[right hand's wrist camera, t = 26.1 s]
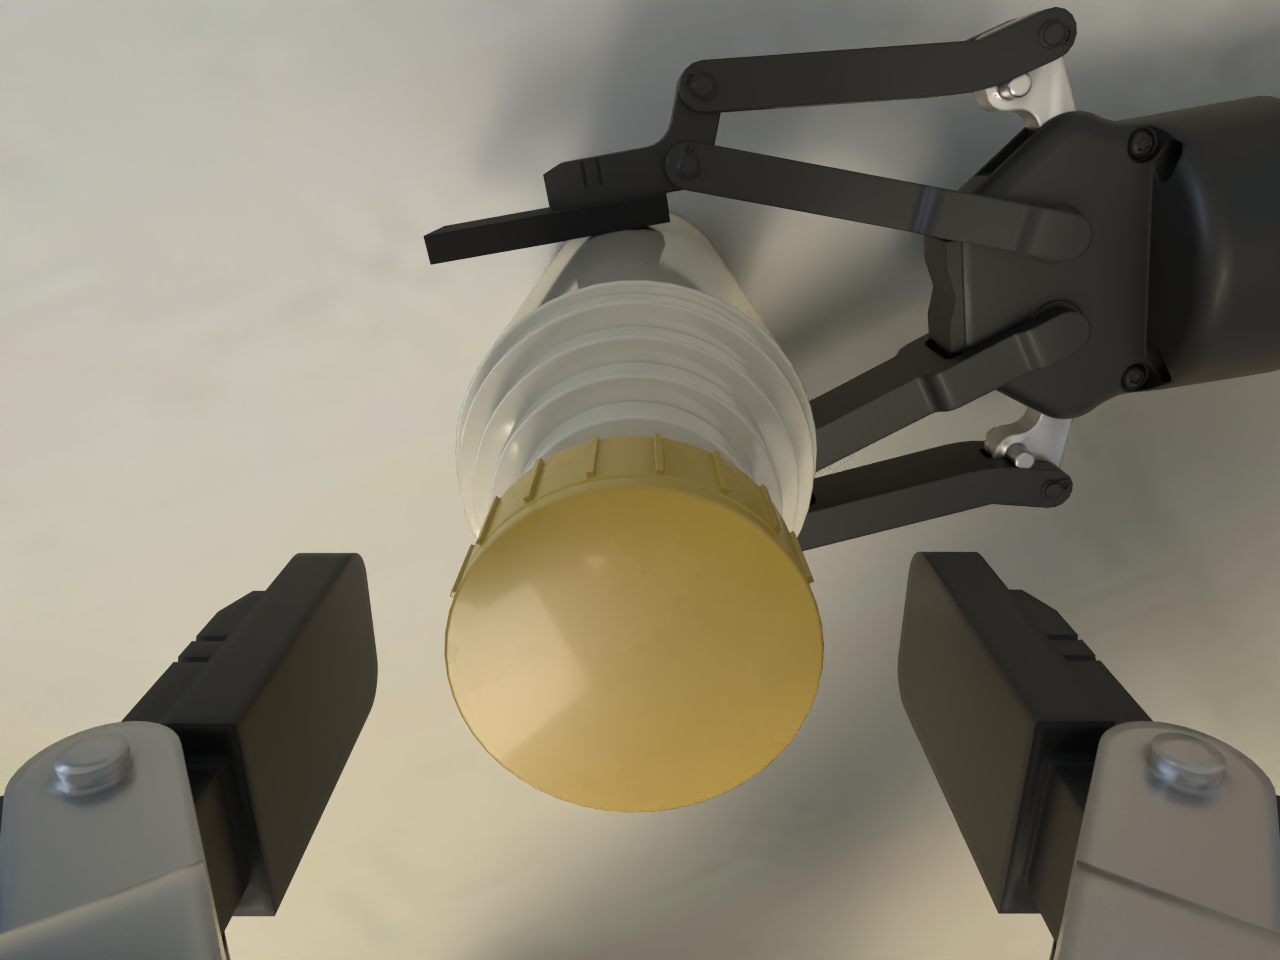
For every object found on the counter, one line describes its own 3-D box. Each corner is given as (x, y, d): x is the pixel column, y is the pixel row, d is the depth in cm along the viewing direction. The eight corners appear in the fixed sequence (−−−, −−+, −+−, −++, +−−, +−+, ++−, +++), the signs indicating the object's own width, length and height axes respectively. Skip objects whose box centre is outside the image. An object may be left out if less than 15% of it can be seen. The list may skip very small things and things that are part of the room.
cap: (770, 394, 11) (793, 441, 9) (824, 695, 12) (852, 781, 11) (425, 469, 11) (388, 528, 10) (519, 752, 13) (502, 845, 11)
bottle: (511, 262, 32) (246, 524, 10) (680, 172, 30) (775, 255, 9) (599, 421, 34) (530, 912, 12) (759, 342, 33) (986, 732, 11)
